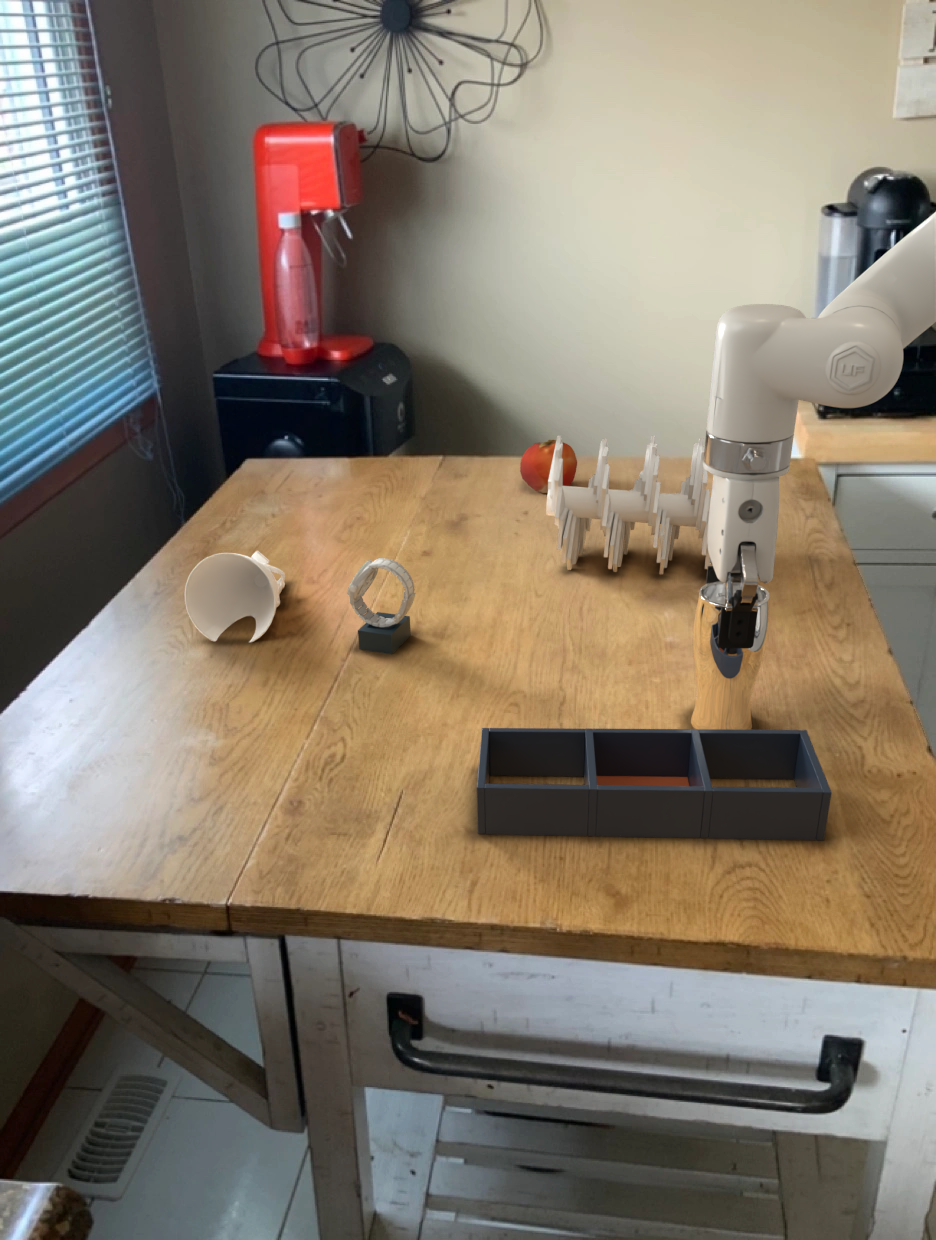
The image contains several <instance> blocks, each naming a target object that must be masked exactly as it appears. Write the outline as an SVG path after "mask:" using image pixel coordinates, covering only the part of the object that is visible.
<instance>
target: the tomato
mask: <svg viewBox="0 0 936 1240" xmlns="http://www.w3.org/2000/svg"><path fill="white" fill-rule="evenodd" d="M556 440H557V439H548V440H547V441H544V442H541V441H540V442H535V443H533V444H532V445H531V446H529V447H528V448H527V449H526V450H525V451H524V452H523V454H522V456H521V459H520V465H519V466H520V467H519V472H520V476H521V479H522V480H523V481H524V482H525V483H526V484H527V485H528V486H529V487H530V488H531V489H533V490H534V491H536V492H538V493H541V494H548V479H549V474H550V469H551V464H552V459H553V455H554V450H555V445H556ZM562 444H563V450H562V459H563V486H572V485H573V483H574V480H575V477H576V473H577V467H578V460H577V456H576V453H575V450H574V448H573V447H572V446H571V445H570V444H568V443H566V442H564V441H562Z"/></svg>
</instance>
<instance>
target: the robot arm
mask: <svg viewBox="0 0 936 1240" xmlns="http://www.w3.org/2000/svg"><path fill="white" fill-rule="evenodd" d="M935 323H936V211H935V212H934V213H932V214H930V216H929V217H928V218H926V219H925V220H924V221H922V222H921V223H920V224H919V225H918V226H916V227H915V228H914V229H912V230H911V231H910V232H909V233H907V234H906V235H905V236H904V237H903V238H901V239H900V240H899V241H898V242H896V243H895V244H894V245H893V246H892V247H891V248H889V249H888V250H887V251H886V252H885V253H884V254H883V255H882V256H880V257H879V258H878V259H877V260H876V261H875V262H874V263H873V264H872V265H870V266H869V267H868V268H867V269H866V270H864V271H863V272H862V273H861V274H860V275H859V276H858V277H857V278H856V279H854V280H853V281H852V282H851V283H850V284H849V285H848V286H847V287H846V288H844V289H843V290H842V291H840V292H839V294H838V295H836V297H835V298H834V299H832V300H831V302H829V303H828V304H827V305H826V306H825V308H823V309H822V311H821V312H820V313H819V315H818V316H817V317H811V318H810V317H806V315H805V314H804V312H802V311H801V310H800V309H798V308H795V307H793V306H788V305H783V304H773V303H754V304H753V303H752V304H743V305H742V304H741V305H737V306H735V307H732V308H729V309H727V310H726V311H724V312H723V313H722V314H721V316H720V318H719V319H718V321H717V323H716V329H715V334H714V335H715V336H714V345H713V354H712V355H713V357H712V367H711V378H710V387H709V400H708V408H707V409H708V410H707V420H706V429H705V438H704V439H705V440H704V446H705V449H704V459H703V470H704V469H705V470H706V471H707V472H708V474H710V475H712V485H711V491H710V497H711V501H710V510H709V521H708V539H707V544H708V552H709V555H710V559H709V562H710V565H713V566H708V569H706V580H705V585H706V584H708V583H711V582H715V581H721V582H723V583H725V607H721V615H720V624H719V633H718V646H719V647H720V648H751V647H753V644H754V636H755V629H756V621H757V613H758V585H759V582H761V583H763V584H766V585H769V583H771V582H772V581H773V579H774V573H775V572H774V571H775V562H776V551H777V550H776V549H777V539H778V529H779V528H778V524H779V514H780V513H779V512H780V477H783V476H785V475H786V474H788V472H789V471H790V466H791V459H792V451H793V444H794V437H795V429H796V422H797V415H798V407H799V401H803V402H808V403H812V404H818V405H821V406H827V407H832V408H839V409H856V408H862V407H866V406H869V405H871V404H874V403H876V402H878V401H879V400H881V399H882V398H884V397H885V396H886V395H888V393H889V392H891V390H892V389H893V388H894V386H895V385H896V383H897V382H898V379H899V378H900V375H901V372H902V369H903V364H904V349H905V348H906V347H907V346H909V345H910V344H911V343H912V342H914V340H916V339H917V338H918V337H920V335H922V334H923V333H924V332H925V331H927V330H928V329H929V328H931V327H932V325H934V324H935ZM733 585H740V590H736V592H735V593H734V596H733Z"/></svg>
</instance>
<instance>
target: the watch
mask: <svg viewBox="0 0 936 1240" xmlns="http://www.w3.org/2000/svg"><path fill="white" fill-rule="evenodd" d="M379 569H381V570H384V571H387V572H388V573H391V575H393V576H394V577H396V579H397V580H398V581H399V582H401V585H402V587H403V589H404V591H403V598H402V600H401V603H400V607H399V609H398V611H397V612H396V613H387V612H381V611H377V612H376V613H375V612H374V611H373V610H372V609H370V607H368V606H367V605H368V604H366V602H365V601H364V598H363V597H364V596H365V593H366V592H367V590H368V589H369V588H370V587H371V585H372V584H373V582H374V581H375V579H376V577H377V575H378V571H379ZM415 590H416V589H415V584H414V581H413V578H412V576H411V574H410V573H409V571H408V570H407V569H406V568H405V567H404V566H403V565H402V564H400V563H399V562H398V561H396V560H394V559H391V558H387V557H386V558H384V557H379V558H376V559H375V560H371V559H368V560H367V561H365V562H364V563H363V564H362V566H361V567H359V569H358V570H357V572H356V573H355V574H354V576H353V578H352V580H351V581H350V583H349V585H348V587H347V590H346V595H347V596H349V598H348V602H349V604H350V606H351V608H352V609H353V611H354V612H355V614H356V615H357V616H358V618H360V619H361V620H362V621H363V622H365V623H364V624H363V625H362V626H361V627H360V628H359V629H357V637H358V649H359V650H360V651H367V652H374V653H380V654H386V655H394V653H395V652H396V651H397V650H398V649H399V648H400V647H401V646H402V645H403V644H404V643H405V642H406V641H407V640H408V639H409V638H410V637H411V635H412V632H411V631H412V630H411V629H412V628H411V616H410V615H407V614H408V613H409V611H410V609H411V607H412V605H413V603H414V601H415V596H416V592H415Z"/></svg>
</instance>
